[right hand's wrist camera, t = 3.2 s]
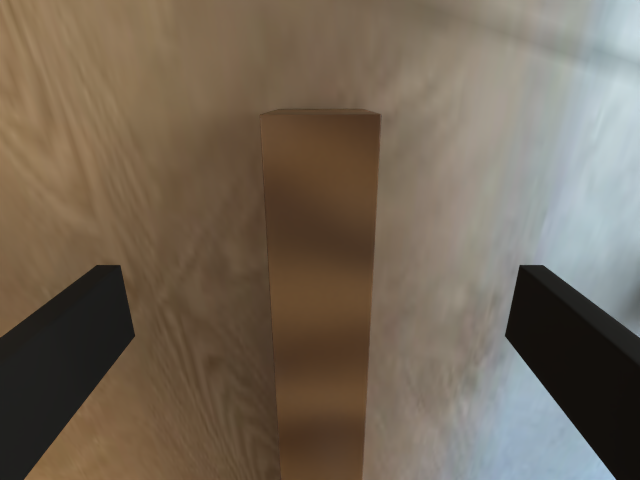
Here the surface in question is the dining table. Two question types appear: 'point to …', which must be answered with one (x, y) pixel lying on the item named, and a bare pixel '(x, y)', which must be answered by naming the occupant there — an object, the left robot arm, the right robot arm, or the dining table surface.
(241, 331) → the dining table surface
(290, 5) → the dining table surface
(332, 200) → the beam
